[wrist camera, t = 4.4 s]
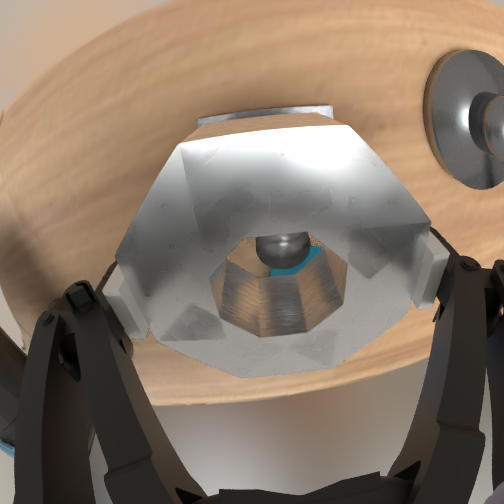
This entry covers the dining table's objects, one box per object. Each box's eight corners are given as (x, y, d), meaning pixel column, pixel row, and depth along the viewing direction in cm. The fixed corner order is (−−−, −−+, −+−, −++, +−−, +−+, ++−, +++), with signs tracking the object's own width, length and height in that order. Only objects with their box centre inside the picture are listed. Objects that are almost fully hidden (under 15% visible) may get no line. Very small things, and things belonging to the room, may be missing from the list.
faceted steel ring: (189, 324, 17) (179, 379, 13) (130, 141, 11) (82, 169, 7) (370, 305, 16) (390, 356, 13) (388, 112, 10) (441, 129, 6)
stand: (221, 227, 25) (200, 329, 15) (200, 117, 20) (143, 153, 10) (331, 216, 24) (374, 312, 15) (327, 104, 19) (397, 128, 9)
